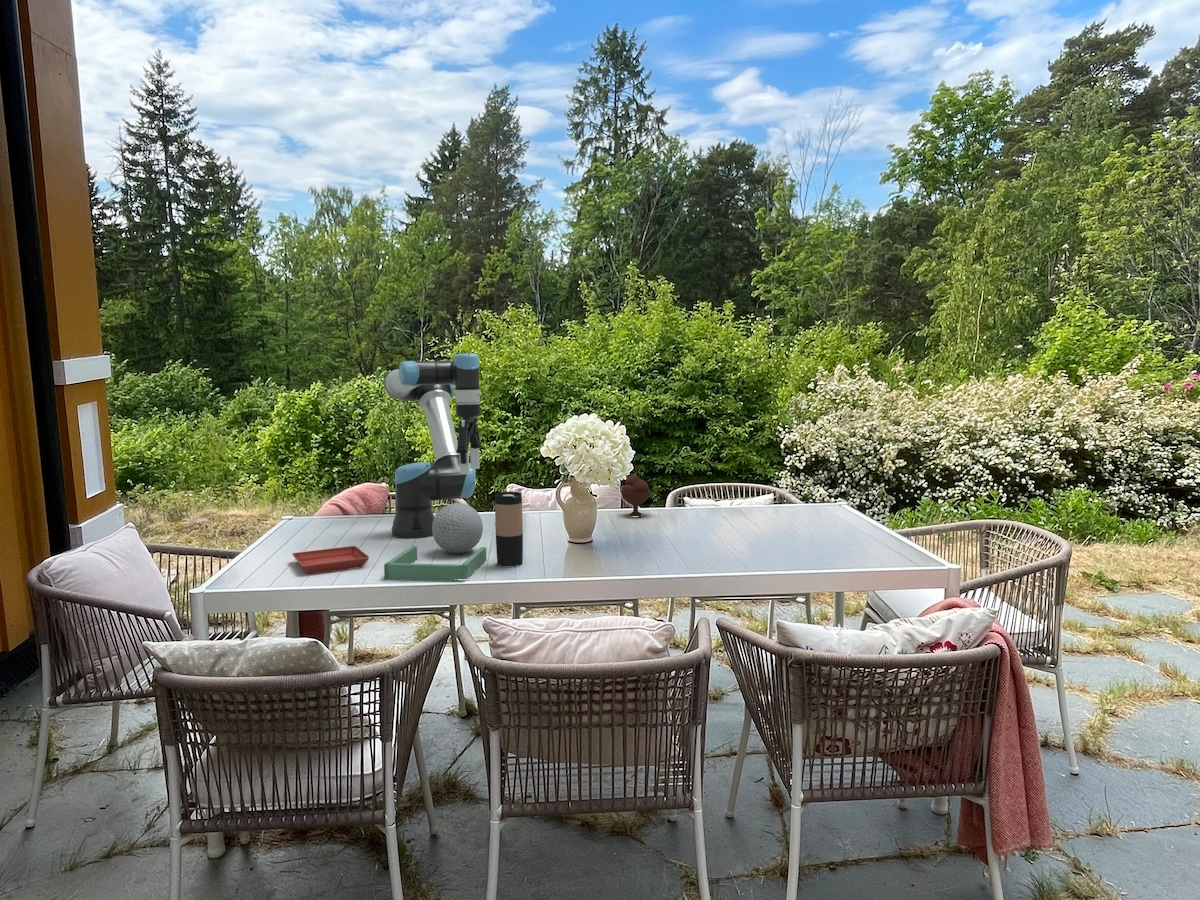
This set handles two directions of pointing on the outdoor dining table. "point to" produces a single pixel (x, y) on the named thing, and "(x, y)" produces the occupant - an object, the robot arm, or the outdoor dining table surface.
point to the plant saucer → (331, 559)
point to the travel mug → (509, 528)
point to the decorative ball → (457, 528)
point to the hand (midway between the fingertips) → (470, 471)
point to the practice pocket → (431, 567)
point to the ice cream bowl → (635, 493)
